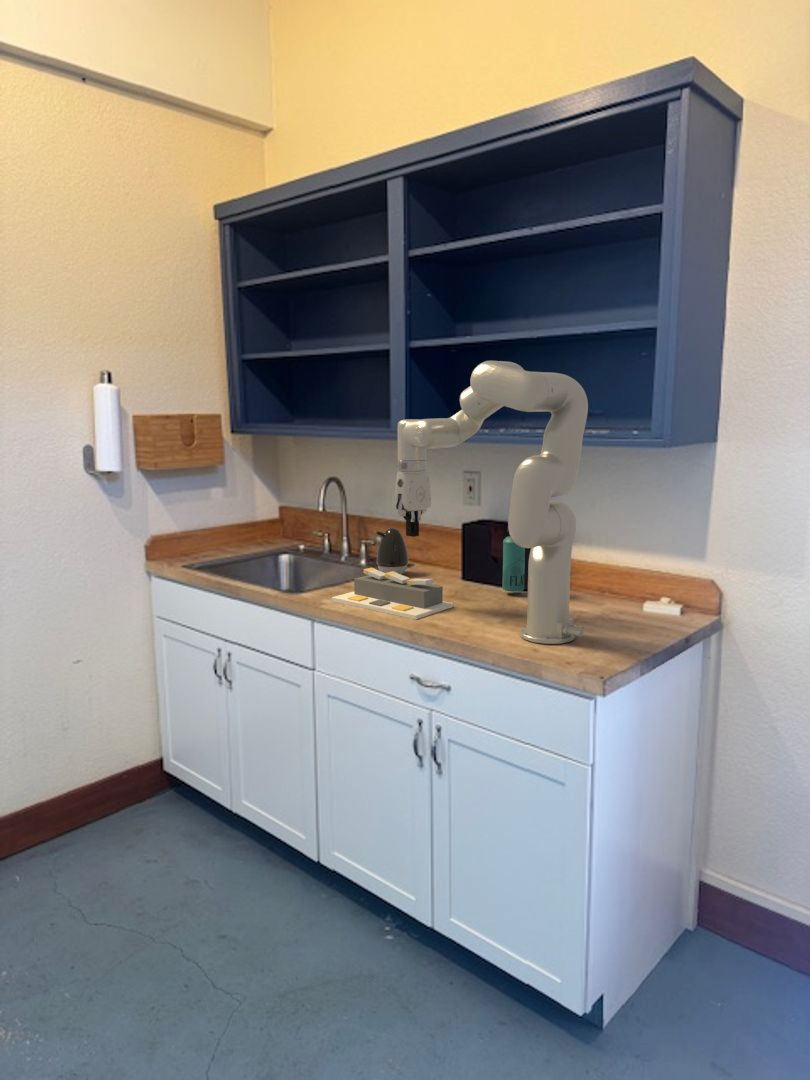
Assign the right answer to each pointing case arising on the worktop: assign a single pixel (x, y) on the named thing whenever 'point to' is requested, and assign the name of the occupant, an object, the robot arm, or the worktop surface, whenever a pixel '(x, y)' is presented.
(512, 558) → the beverage bottle
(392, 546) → the black egg-shaped figure
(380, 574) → the plate
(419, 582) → the plate
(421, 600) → the switch unit
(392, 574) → the block
